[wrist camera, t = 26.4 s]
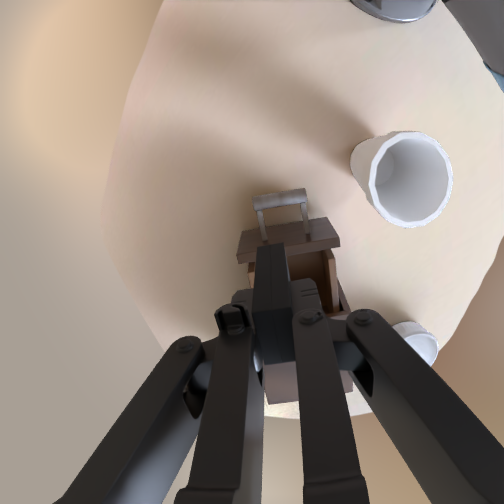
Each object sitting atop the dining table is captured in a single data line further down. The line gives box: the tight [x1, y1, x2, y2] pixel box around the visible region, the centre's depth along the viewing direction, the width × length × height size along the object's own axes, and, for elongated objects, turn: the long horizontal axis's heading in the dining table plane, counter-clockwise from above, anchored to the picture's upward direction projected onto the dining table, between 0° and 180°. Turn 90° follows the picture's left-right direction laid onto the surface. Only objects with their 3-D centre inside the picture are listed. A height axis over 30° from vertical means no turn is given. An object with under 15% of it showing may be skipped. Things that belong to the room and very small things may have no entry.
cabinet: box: [263, 278, 353, 405], centre depth 44 cm, size 15×13×10 cm
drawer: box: [236, 188, 340, 314], centre depth 39 cm, size 19×11×8 cm, turn 12°
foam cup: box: [350, 131, 453, 228], centre depth 32 cm, size 10×9×13 cm
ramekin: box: [392, 322, 439, 366], centre depth 47 cm, size 11×11×5 cm
